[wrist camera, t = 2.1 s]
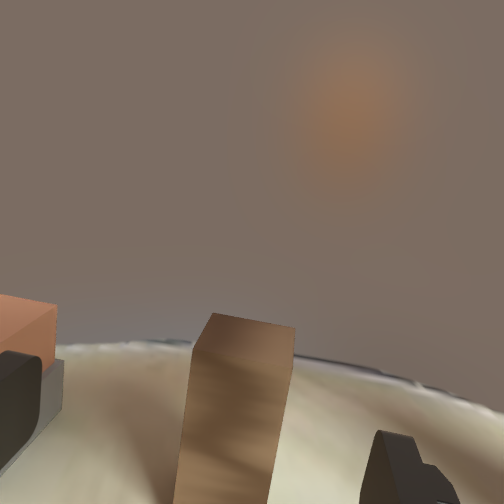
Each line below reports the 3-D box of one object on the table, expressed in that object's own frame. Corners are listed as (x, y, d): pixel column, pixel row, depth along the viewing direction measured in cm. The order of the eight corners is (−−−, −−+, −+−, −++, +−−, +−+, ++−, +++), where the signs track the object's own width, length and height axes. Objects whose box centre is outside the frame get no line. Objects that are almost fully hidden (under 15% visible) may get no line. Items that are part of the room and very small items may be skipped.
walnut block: (266, 481, 28) (295, 328, 25) (258, 546, 23) (292, 368, 21) (191, 465, 28) (212, 312, 25) (170, 526, 23) (192, 348, 21)
